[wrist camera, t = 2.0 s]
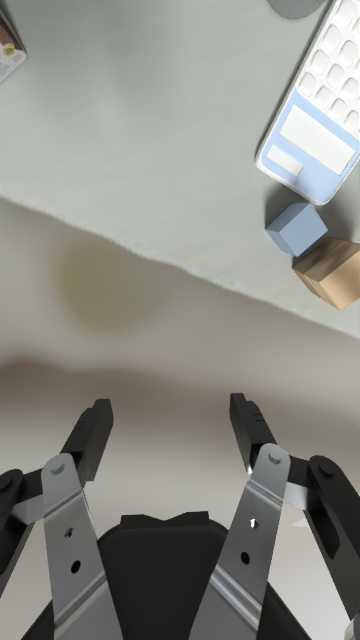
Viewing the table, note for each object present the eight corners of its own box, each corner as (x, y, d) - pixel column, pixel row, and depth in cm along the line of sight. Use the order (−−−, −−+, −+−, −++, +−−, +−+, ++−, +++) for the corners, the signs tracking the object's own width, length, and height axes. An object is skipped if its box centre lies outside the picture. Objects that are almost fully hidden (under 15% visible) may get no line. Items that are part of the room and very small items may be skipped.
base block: (327, 237, 34) (344, 240, 30) (345, 264, 36) (364, 270, 33) (291, 267, 36) (303, 274, 33) (310, 292, 38) (324, 300, 35)
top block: (344, 240, 30) (366, 245, 27) (363, 271, 33) (386, 278, 29) (303, 274, 33) (318, 282, 29) (324, 300, 35) (340, 310, 31)
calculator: (442, 29, 23) (463, 15, 21) (318, 208, 32) (326, 208, 30) (362, -61, 20) (379, -86, 18) (249, 165, 29) (254, 162, 27)
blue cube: (291, 203, 31) (310, 202, 27) (307, 227, 33) (328, 230, 28) (264, 229, 33) (278, 232, 28) (281, 250, 34) (297, 256, 30)
